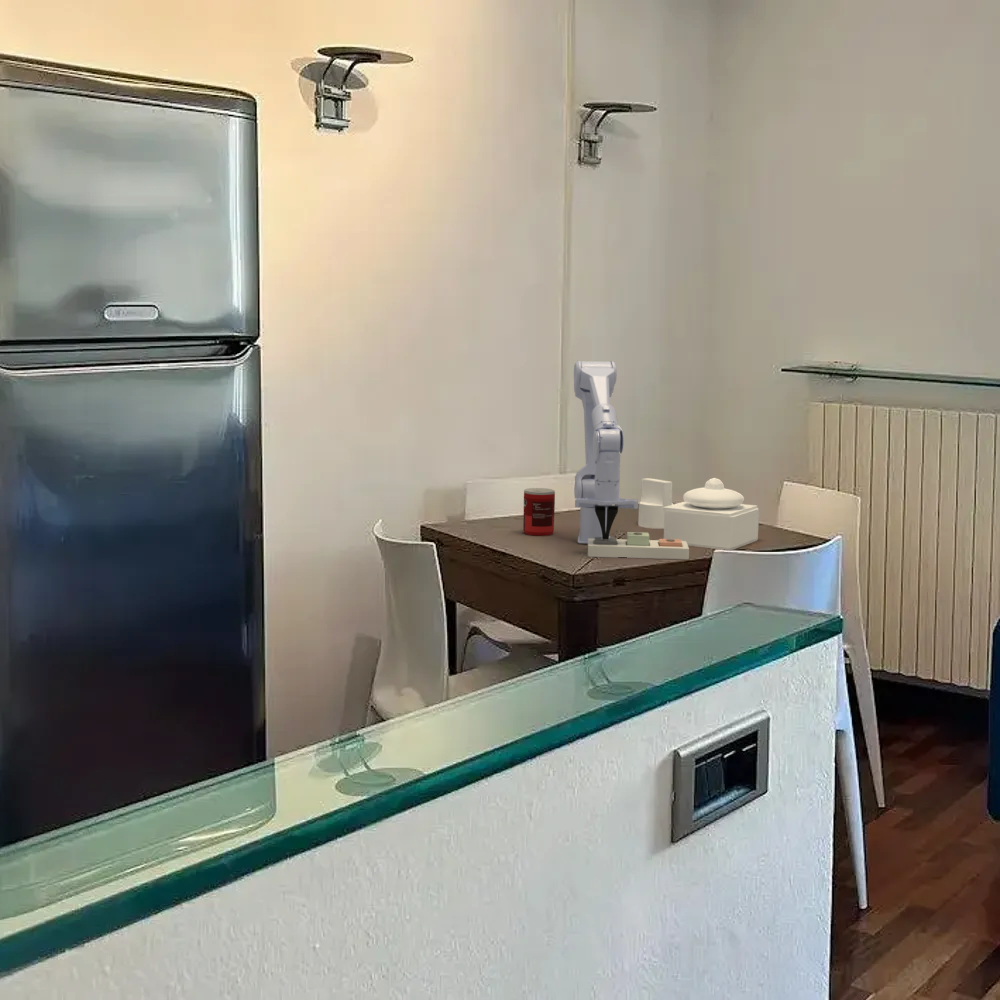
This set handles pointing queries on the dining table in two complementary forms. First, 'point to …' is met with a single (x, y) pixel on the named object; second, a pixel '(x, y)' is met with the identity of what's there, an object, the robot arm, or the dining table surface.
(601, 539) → the key charcoal
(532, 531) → the canned food
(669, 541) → the key terracotta
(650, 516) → the cylinder with rectangular tab
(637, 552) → the keypad housing
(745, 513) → the white block with dome
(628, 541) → the key sage
